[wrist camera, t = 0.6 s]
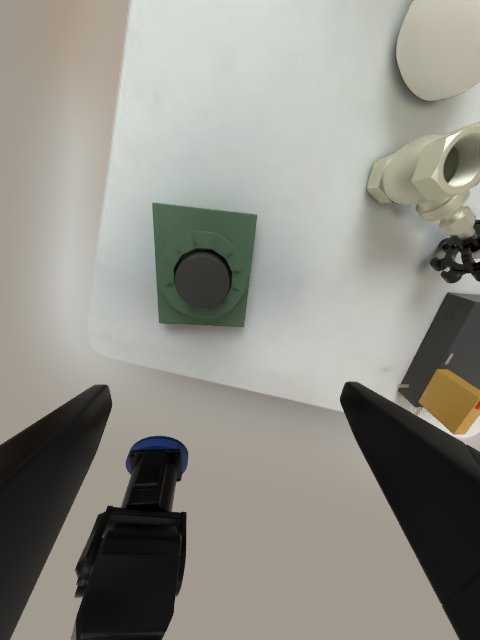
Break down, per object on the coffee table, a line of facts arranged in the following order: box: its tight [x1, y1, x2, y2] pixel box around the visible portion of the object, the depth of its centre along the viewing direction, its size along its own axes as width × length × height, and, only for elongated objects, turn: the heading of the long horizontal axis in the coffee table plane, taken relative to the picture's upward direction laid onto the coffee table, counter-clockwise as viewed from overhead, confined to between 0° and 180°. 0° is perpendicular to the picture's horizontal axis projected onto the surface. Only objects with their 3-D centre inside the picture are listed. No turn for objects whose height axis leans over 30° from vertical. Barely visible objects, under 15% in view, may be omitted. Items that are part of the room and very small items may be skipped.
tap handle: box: [419, 369, 480, 434], centre depth 24 cm, size 5×1×5 cm, turn 174°
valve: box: [367, 122, 480, 283], centre depth 17 cm, size 7×7×12 cm
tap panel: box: [397, 293, 480, 415], centre depth 27 cm, size 15×18×3 cm
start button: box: [175, 252, 230, 308], centre depth 17 cm, size 4×4×2 cm
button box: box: [153, 203, 257, 327], centre depth 19 cm, size 10×8×4 cm
